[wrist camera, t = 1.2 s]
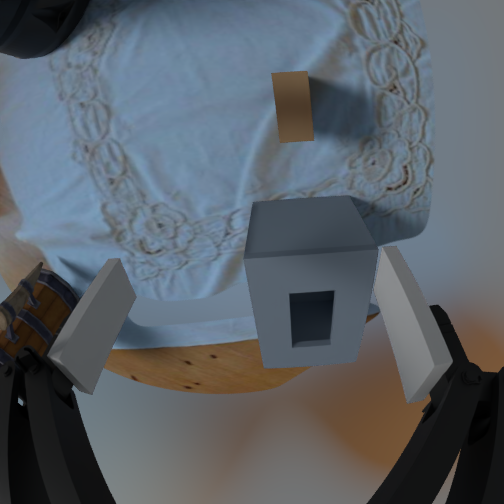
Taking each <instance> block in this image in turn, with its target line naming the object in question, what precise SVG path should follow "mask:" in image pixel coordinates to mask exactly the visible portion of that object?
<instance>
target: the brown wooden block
mask: <svg viewBox="0 0 504 504" xmlns="http://www.w3.org/2000/svg"><path fill="white" fill-rule="evenodd" d="M271 74H272V81H273V89H274V97H275V105H276V113H277V121H278V130H279V139H280V143H285V142H299V141H314V133H313V121H312V110H311V99H310V90H309V81H308V72H307V71H295V72H280V73H271Z"/></svg>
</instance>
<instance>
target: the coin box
mask: <svg viewBox="0 0 504 504" xmlns="http://www.w3.org/2000/svg"><path fill="white" fill-rule="evenodd" d="M377 257H378V247H377V246H376V244H375V242H374V240H373V238H372V236H371V234H370V232H369V230H368V228H367V227H366V225H365V223H364V221H363V219H362V217H361V216H360V214H359V212H358V210H357V209H356V207H355V205H354V203H353V202H352V200H351V198H350V197H349V196H332V197H315V198H300V199H286V200H273V201H262V202H253V204H252V210H251V216H250V222H249V228H248V235H247V241H246V247H245V253H244V265H245V270H246V275H247V281H248V286H249V292H250V297H251V302H252V308H253V313H254V318H255V324H256V329H257V334H258V339H259V345H260V350H261V355H262V360H263V365H264V368H287V367H305V366H318V365H330V364H340V363H348V362H355V361H356V359H357V356H358V351H359V348H360V344H361V340H362V336H363V331H364V327H365V323H366V318H367V313H368V308H369V304H370V298H371V293H372V288H373V282H374V276H375V270H376V263H377Z"/></svg>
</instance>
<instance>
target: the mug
mask: <svg viewBox="0 0 504 504" xmlns="http://www.w3.org/2000/svg"><path fill="white" fill-rule="evenodd" d="M42 265H43V263H42V262H40V263H39V264H38V265H37V266H36V267H35V268H34V269H33V270H32V271H31V272H30V273H29V275H28V276H27V277H26V278H25V279H22V280H21V281H20V283H19V284H18V287H17V288H16V289H15V290H14V291H13V292H12V293H11V294H10V295H9V296H8V297H7V298H6V300H5V301H3V302H2V303H1V304H0V368H1V367H2V365H3V364H4V363H5V362H7V361H13V362H14V358H15V355H16V353H17V352H18V351H19V349H21V348H22V347H23V346H26V345H31V346H32V347H33V348H34V349H35V350H36V351H37V353H38V354H39V355H40V356H41V357H42V355H43V354H44V352H45V350H46V348H47V346H48V345H49V343H50V341H51V339H52V338H53V336H54V335H55V333H56V331H57V329H58V328H59V326H60V324H61V323H62V321H63V319H64V318H65V317H66V316H67V315H68V314H69V313H70V312H73V310H74V309H75V307H76V306H77V304H78V303H79V301H80V298H79V297H78V296H77V294H76V293H75V292H74V291H73V289H72V288H71V287H70V286H69V284H68V283H67V282H66V281H64V280H63V279H62V278H60V277H59V276H58V275H56V274H55V273H54V272H52V271H49V270H45V269H42ZM15 364H16V363H15ZM16 365H17V364H16ZM17 366H18V365H17Z"/></svg>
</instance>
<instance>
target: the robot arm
mask: <svg viewBox="0 0 504 504" xmlns="http://www.w3.org/2000/svg"><path fill="white" fill-rule="evenodd" d="M88 2H89V0H0V52H1V53H4V54H7V55H11V56H14V57H16V58H19V59H29V58H37V57H41V56H44V55H46V54H48V53H50V52H51V51H53V50H54V49H55V48H57V47H58V46H59V45H60V44H61V43H62V42H63V41H64V40H65V39H66V38H67V37H68V36H69V34H70V33H71V32H72V31H73V29H74V28H75V27H76V25H77V24H78V22H79V20H80V19H81V17H82V15H83V13H84V11H85V9H86V7H87V5H88ZM373 291H374V294H375V297H376V300H377V302H378V305H379V308H380V311H381V314H382V317H383V320H384V323H385V326H386V329H387V332H388V336H389V339H390V342H391V345H392V348H393V352H394V355H395V359H396V362H397V366H398V370H399V373H400V377H401V381H402V385H403V388H404V392H405V397H406V401H407V404H408V403H413V402H417V401H421V400H424V398H426V396H427V395H428V394H429V393H430V397H431V401H430V402H429V403H428V405H427V406H426V407H425V408H424V409H423V411H422V412H423V413H424V412H425V413H424V415H423V417H422V419H421V421H420V423H419V424H418V426H417V428H416V430H415V432H414V434H413V436H412V437H411V439H410V441H409V443H408V444H407V446H406V448H405V449H404V451H403V453H402V454H401V456H400V457H399V459H398V461H397V462H396V464H395V465H394V467H393V468H392V470H391V471H390V473H389V474H388V476H387V477H386V479H385V480H384V482H383V483H382V484H381V486H380V487H379V488H378V490H377V491H376V492H375V494H374V495H373V496H372V498H371V499H370V500H369V501H368V503H367V504H432V503H433V501H434V499H435V498H436V496H437V494H438V493H439V491H440V489H441V487H442V485H443V484H444V482H445V480H446V478H447V476H448V474H449V472H450V470H451V468H452V466H453V464H454V462H455V460H456V458H457V456H458V454H459V451H460V449H461V451H460V455H459V459H458V463H457V468H456V471H455V475H454V478H453V482H452V485H451V489H450V492H449V495H448V498H447V501H446V503H445V504H504V367H502V368H501V370H500V371H499V372H498V373H496V372H483V371H481V369H480V368H479V366H477V365H476V364H474V363H471V362H469V360H468V359H467V356H466V354H465V352H464V349H463V347H462V345H461V343H460V340H459V338H458V336H457V334H456V332H455V330H454V328H453V325H452V324H451V321H450V319H449V317H448V315H447V313H446V312H445V311H444V310H443V309H442V308H441V307H440V306H439V305H432V306H429V305H428V303H427V302H426V300H425V297H424V296H423V293H422V292H421V290H420V288H419V286H418V284H417V282H416V280H415V278H414V276H413V274H412V273H411V271H410V269H409V267H408V265H407V264H406V262H405V260H404V259H403V257H402V255H401V253H400V252H399V250H398V248H397V246H391V247H390V246H389V247H382V251H381V256H380V262H379V266H378V272H377V276H376V281H375V285H374V290H373ZM135 299H136V295H135V292H134V290H133V288H132V286H131V284H130V281H129V279H128V277H127V274H126V272H125V270H124V267H123V265H122V262H121V260H120V258H114V259H108V260H107V262H106V263H105V264H104V266H103V267H102V269H101V270H100V271H99V273H98V274H97V276H96V277H95V279H94V280H93V282H92V283H91V284H90V286H89V287H88V289H87V290H86V292H85V293H84V295H83V296H82V298H81V300H80V301H79V303H78V304H77V306H76V307H75V309H74V310H73V312H70V313H69V314H68V315H67V316H66V317H65V318H64V319H63V321H62V323H61V324H60V326H59V328H58V329H57V331H56V333H55V335H54V336H53V338H52V339H51V341H50V343H49V345H48V346H47V348H46V350H45V352H44V354H43V355H42V357H41V356H40V355H39V354H38V353H37V351H36V350H35V349H34V348H33V347H32V346H31V345H26V346H23V347H22V348H21V349H19V351H18V352H17V353H16V355H15V358H14V362H13V361H7V362H5V363H4V364H3V365H2V367H1V368H0V504H116V502H115V500H114V498H113V497H112V494H111V492H110V490H109V488H108V486H107V484H106V482H105V479H104V477H103V475H102V473H101V470H100V468H99V465H98V463H97V461H96V458H95V456H94V453H93V450H92V448H91V445H90V442H89V439H88V436H87V433H86V430H85V427H84V424H83V421H82V418H81V414H80V411H79V408H78V404H77V400H76V396H75V394H74V391H73V390H72V387H73V385H74V386H75V387H76V388H77V389H78V390H79V391H81V392H84V393H88V394H91V395H92V394H93V391H94V389H95V386H96V384H97V381H98V379H99V377H100V374H101V372H102V370H103V367H104V365H105V363H106V360H107V358H108V356H109V354H110V351H111V349H112V347H113V345H114V343H115V340H116V338H117V336H118V334H119V332H120V330H121V328H122V325H123V323H124V321H125V319H126V317H127V315H128V313H129V311H130V309H131V307H132V305H133V303H134V301H135ZM15 363H16V364H17V365H18V366H17V365H16V364H15ZM18 397H19V398H20V399H21V400H22V401H23V406H21V405H20V404H19V403H18Z"/></svg>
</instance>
